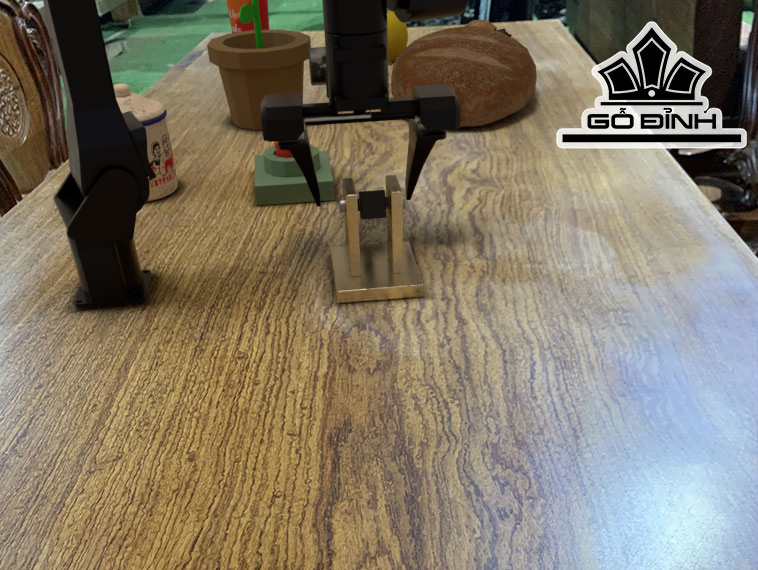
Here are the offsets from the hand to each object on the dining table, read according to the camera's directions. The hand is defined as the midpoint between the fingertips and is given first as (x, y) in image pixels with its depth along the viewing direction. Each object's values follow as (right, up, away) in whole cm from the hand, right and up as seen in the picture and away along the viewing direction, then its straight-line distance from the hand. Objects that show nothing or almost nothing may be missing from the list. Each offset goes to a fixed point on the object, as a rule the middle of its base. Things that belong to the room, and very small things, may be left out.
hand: (363, 202), depth 85 cm
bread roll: (+20, +56, +70) cm, 92 cm away
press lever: (+1, -3, -4) cm, 6 cm away
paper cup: (-20, +45, +60) cm, 78 cm away
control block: (-9, +8, +15) cm, 19 cm away
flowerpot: (-15, +26, +36) cm, 47 cm away
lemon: (+4, +47, +60) cm, 77 cm away
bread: (+14, +32, +43) cm, 55 cm away
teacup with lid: (-27, +8, +16) cm, 33 cm away
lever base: (+1, -9, -5) cm, 10 cm away
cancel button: (-9, +10, +13) cm, 18 cm away
